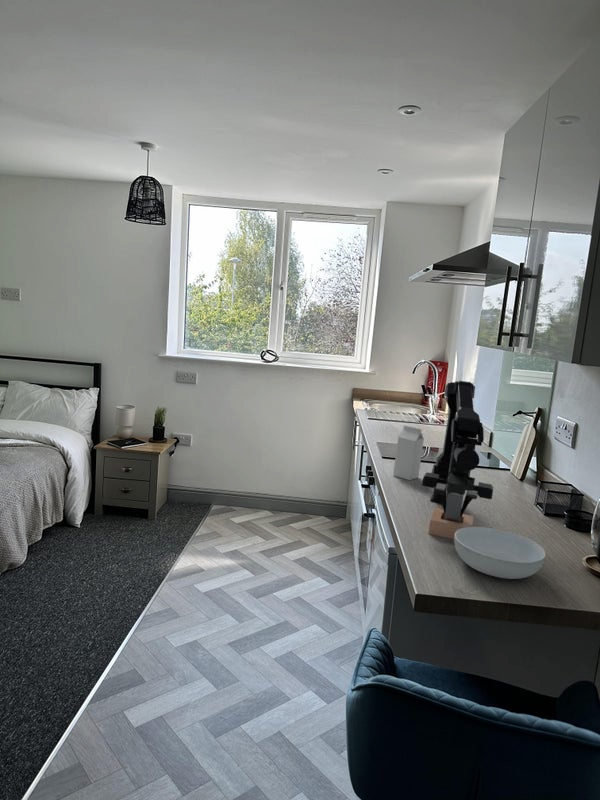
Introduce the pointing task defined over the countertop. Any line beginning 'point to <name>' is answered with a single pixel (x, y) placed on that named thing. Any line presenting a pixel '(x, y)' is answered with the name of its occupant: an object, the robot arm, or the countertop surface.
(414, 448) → the milk carton
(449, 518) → the tall grey square pillar
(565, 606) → the countertop surface
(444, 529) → the orange square socket block
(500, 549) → the serving bowl
